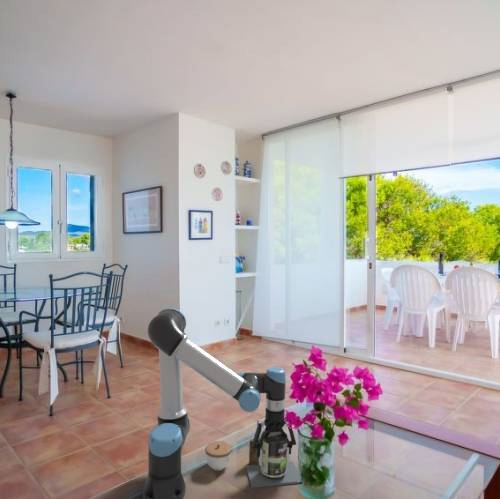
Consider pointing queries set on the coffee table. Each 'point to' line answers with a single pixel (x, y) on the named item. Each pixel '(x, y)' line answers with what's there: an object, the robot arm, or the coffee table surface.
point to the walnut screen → (253, 454)
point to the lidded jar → (218, 454)
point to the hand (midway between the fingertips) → (273, 462)
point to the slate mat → (262, 480)
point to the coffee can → (274, 454)
